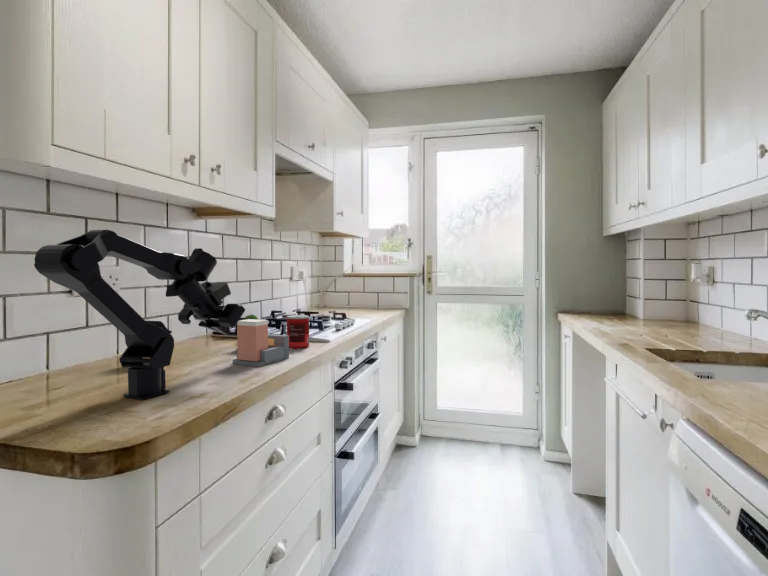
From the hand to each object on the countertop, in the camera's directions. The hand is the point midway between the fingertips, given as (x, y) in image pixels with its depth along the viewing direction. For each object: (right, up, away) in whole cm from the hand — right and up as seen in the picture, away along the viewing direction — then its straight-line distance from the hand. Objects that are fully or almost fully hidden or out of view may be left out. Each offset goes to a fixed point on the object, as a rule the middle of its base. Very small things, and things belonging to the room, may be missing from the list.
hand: (228, 333), depth 118 cm
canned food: (+12, -9, +35) cm, 38 cm away
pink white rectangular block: (+4, -8, +9) cm, 13 cm away
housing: (+6, -9, +12) cm, 16 cm away
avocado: (-3, -9, +31) cm, 32 cm away
